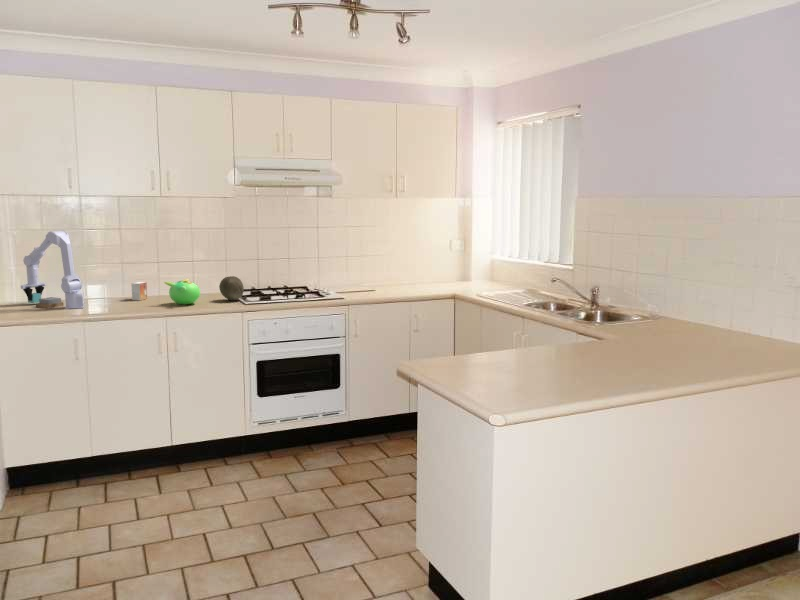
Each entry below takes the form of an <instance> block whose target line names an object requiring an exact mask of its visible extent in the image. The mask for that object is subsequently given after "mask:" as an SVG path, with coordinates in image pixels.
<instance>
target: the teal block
mask: <svg viewBox="0 0 800 600" xmlns="http://www.w3.org/2000/svg"><path fill="white" fill-rule="evenodd" d="M39 299H42V295H41V293H36V292H32V300H31V301H30V300H28V299H27V303H29V304H36V303H39Z"/></svg>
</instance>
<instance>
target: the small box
mask: <svg viewBox="0 0 800 600" xmlns="http://www.w3.org/2000/svg"><path fill="white" fill-rule="evenodd" d="M147 284H148V283H147V281H136V282H132V283H131V300H132V301H143V300H147V299H148V286H147Z"/></svg>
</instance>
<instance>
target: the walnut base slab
mask: <svg viewBox="0 0 800 600" xmlns="http://www.w3.org/2000/svg"><path fill="white" fill-rule="evenodd" d="M63 306H64V301H63V302H62V301H61V303H55V304H41V303H39V302H38V303H35V307H36V308H42V309H43V308H44V309H51V308H57V307H63Z"/></svg>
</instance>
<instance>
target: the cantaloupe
mask: <svg viewBox="0 0 800 600" xmlns="http://www.w3.org/2000/svg"><path fill="white" fill-rule="evenodd" d="M218 287H219V291H220V293H221V295H222V296H223V297H224V298H225V299H226V300H229V301H234V302H235V301H237V300H239V299H241V298H242V297H243V296H244V295H243V294H244V291H245V290H244V289H245V288H244V284H243V281H242V280H241V278H239V277H237V276H234V275H233V276H225V277H224V278H222V279H221V280H220V283H219V286H218Z"/></svg>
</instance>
